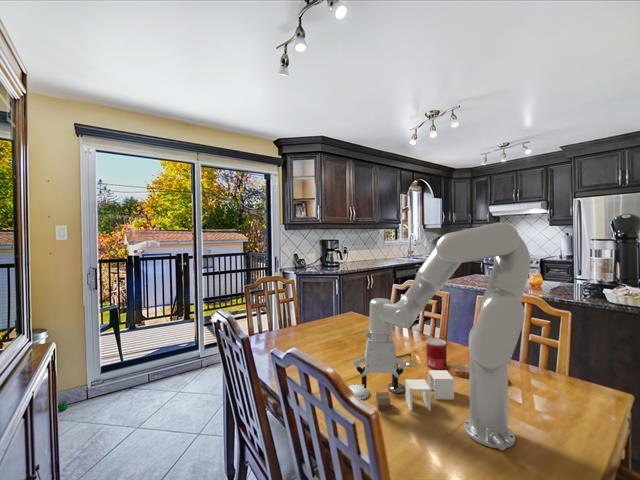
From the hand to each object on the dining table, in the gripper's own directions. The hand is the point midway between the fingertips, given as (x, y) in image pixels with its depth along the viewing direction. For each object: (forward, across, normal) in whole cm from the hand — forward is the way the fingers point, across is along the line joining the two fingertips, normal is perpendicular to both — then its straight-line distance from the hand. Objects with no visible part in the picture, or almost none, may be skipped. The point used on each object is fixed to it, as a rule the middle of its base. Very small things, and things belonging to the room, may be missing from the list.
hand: (379, 386), depth 100 cm
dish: (+7, -7, +8) cm, 12 cm away
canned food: (+6, +29, +30) cm, 42 cm away
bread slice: (+6, +42, +21) cm, 48 cm away
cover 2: (+6, +23, +8) cm, 25 cm away
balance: (+6, +8, +10) cm, 15 cm away
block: (+6, +1, 0) cm, 7 cm away
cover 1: (+6, +13, 0) cm, 14 cm away
